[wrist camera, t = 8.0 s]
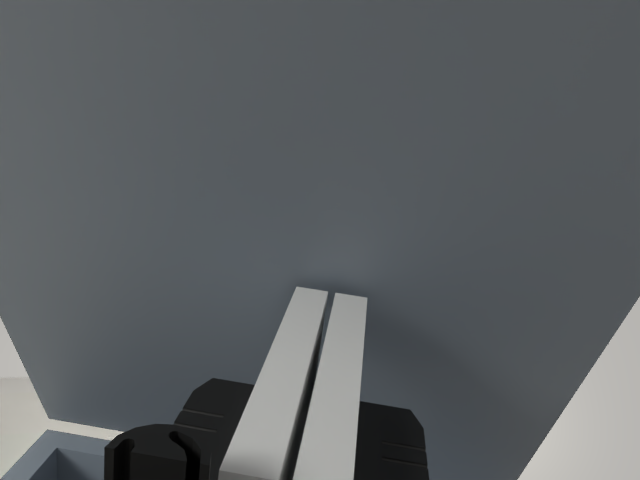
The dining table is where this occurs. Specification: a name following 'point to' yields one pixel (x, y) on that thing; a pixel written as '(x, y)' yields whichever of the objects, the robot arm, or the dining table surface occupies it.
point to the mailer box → (61, 458)
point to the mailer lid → (321, 202)
